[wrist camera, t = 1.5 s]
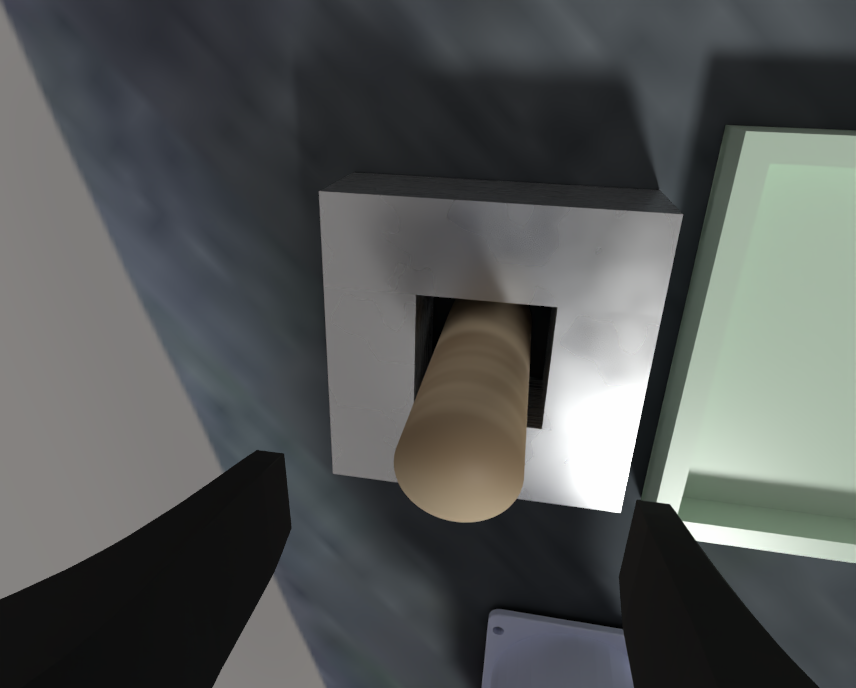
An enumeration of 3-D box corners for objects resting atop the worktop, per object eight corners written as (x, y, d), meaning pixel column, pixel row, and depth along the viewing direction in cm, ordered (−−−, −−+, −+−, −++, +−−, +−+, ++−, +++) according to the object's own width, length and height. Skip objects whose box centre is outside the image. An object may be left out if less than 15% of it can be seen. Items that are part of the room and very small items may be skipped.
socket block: (609, 452, 23) (620, 512, 20) (360, 421, 24) (333, 473, 21) (660, 190, 19) (683, 214, 16) (353, 172, 20) (318, 190, 17)
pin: (527, 362, 22) (517, 530, 14) (447, 354, 22) (393, 512, 14) (536, 285, 21) (530, 422, 13) (451, 278, 21) (393, 406, 13)
